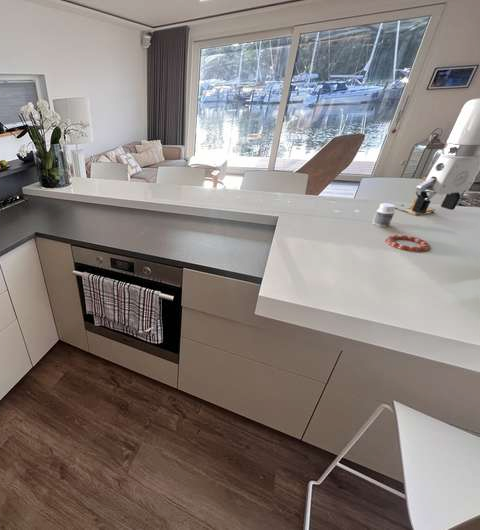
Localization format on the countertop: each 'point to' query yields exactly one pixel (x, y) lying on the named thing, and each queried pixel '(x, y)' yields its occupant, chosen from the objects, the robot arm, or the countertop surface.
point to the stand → (415, 202)
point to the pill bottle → (384, 215)
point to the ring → (422, 243)
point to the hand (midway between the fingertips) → (432, 210)
